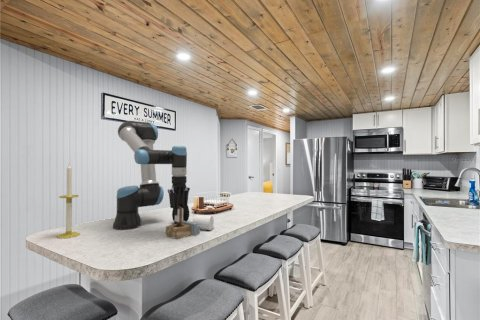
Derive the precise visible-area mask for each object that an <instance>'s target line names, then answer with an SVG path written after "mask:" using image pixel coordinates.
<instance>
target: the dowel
mask: <svg viewBox="0 0 480 320" xmlns="http://www.w3.org/2000/svg"><path fill="white" fill-rule="evenodd" d="M178 209H179V222H176V226H177V227H180V226H182V207H181V206H178Z"/></svg>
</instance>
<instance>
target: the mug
mask: <svg viewBox="0 0 480 320" xmlns="http://www.w3.org/2000/svg"><path fill="white" fill-rule="evenodd" d="M192 223H197V225H198V226H200V231H201V230H202V231H203V230H204V231H212V230H213V227H214V216H213V215H206V214H205V215H204V214H194V216H193V218H192Z"/></svg>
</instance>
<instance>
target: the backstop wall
mask: <svg viewBox="0 0 480 320" xmlns="http://www.w3.org/2000/svg"><path fill="white" fill-rule="evenodd" d="M192 222H193V221H192ZM192 222H191V221H189V220H188V221H182V224H187V225H191V235H190V236H193V237H194V236H195V237H196V236H198V234H201V230H200V226H198V225H197V223H192Z"/></svg>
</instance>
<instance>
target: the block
mask: <svg viewBox="0 0 480 320" xmlns="http://www.w3.org/2000/svg"><path fill="white" fill-rule="evenodd" d="M165 236H166V237H169V238H172V239H176V240H179V239H183V238H186V237H189V236H192V235H191V225H187V224H182V226H180V227H177V226H176V224H175V223H174V224H170V225H165Z"/></svg>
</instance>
